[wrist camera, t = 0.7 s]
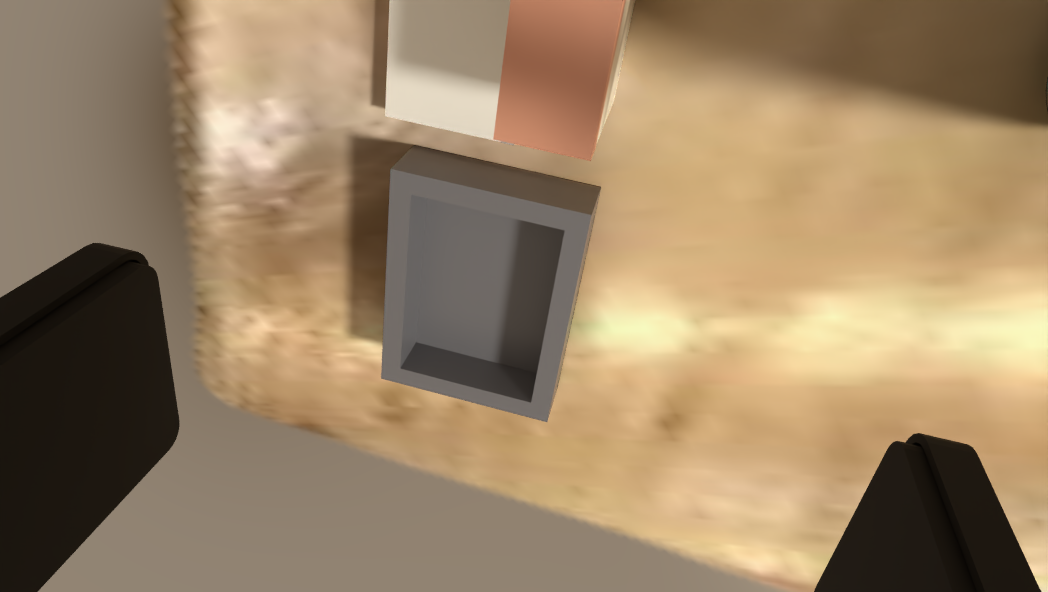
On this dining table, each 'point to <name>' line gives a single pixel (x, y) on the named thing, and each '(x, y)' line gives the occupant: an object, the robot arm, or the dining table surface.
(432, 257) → the tray
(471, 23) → the cream slab
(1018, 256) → the dining table surface
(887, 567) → the robot arm
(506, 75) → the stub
